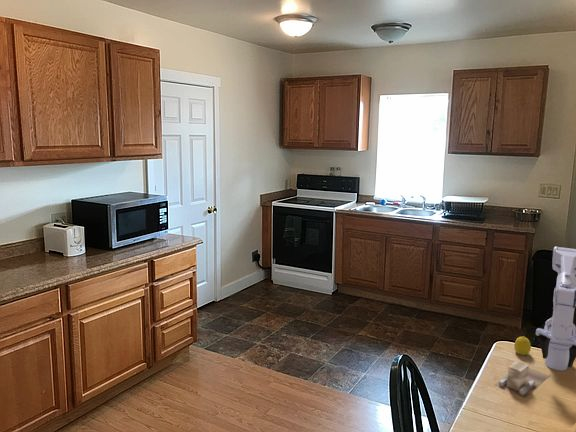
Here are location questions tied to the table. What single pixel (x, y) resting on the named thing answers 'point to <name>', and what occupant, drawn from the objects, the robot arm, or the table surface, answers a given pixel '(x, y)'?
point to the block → (517, 375)
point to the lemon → (522, 345)
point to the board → (532, 383)
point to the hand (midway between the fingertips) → (557, 361)
